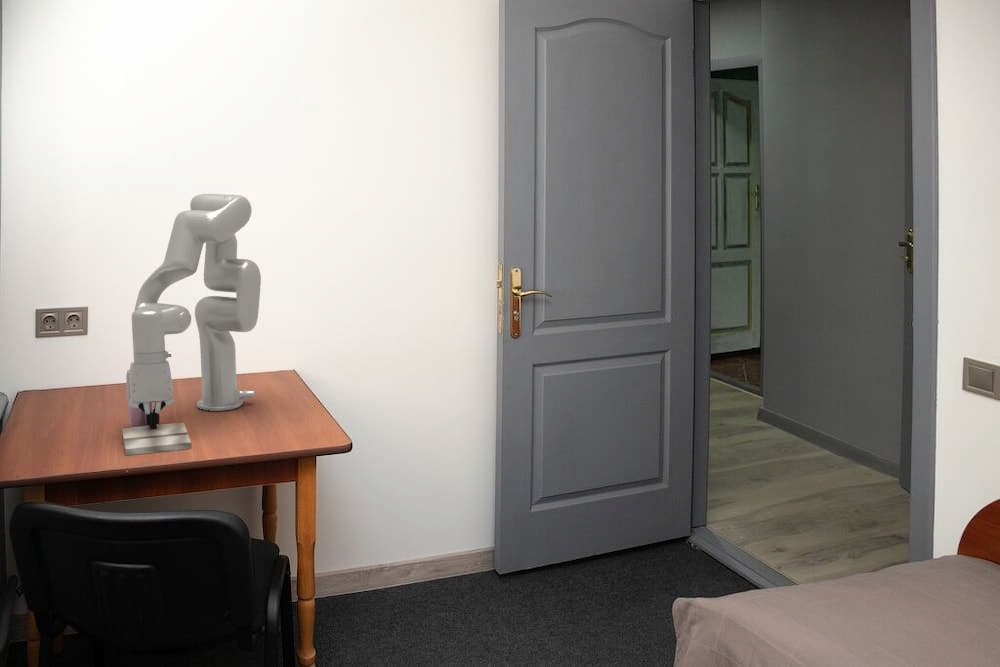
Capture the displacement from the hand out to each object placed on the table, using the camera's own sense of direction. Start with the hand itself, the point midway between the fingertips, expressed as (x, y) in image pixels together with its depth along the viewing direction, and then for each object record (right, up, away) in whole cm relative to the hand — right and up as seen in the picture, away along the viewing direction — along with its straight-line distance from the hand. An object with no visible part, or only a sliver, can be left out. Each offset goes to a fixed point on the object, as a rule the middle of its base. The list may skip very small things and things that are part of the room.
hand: (153, 427), depth 240 cm
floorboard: (+5, -4, -10) cm, 12 cm away
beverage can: (-6, -1, +8) cm, 10 cm away
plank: (+1, -2, -1) cm, 3 cm away
